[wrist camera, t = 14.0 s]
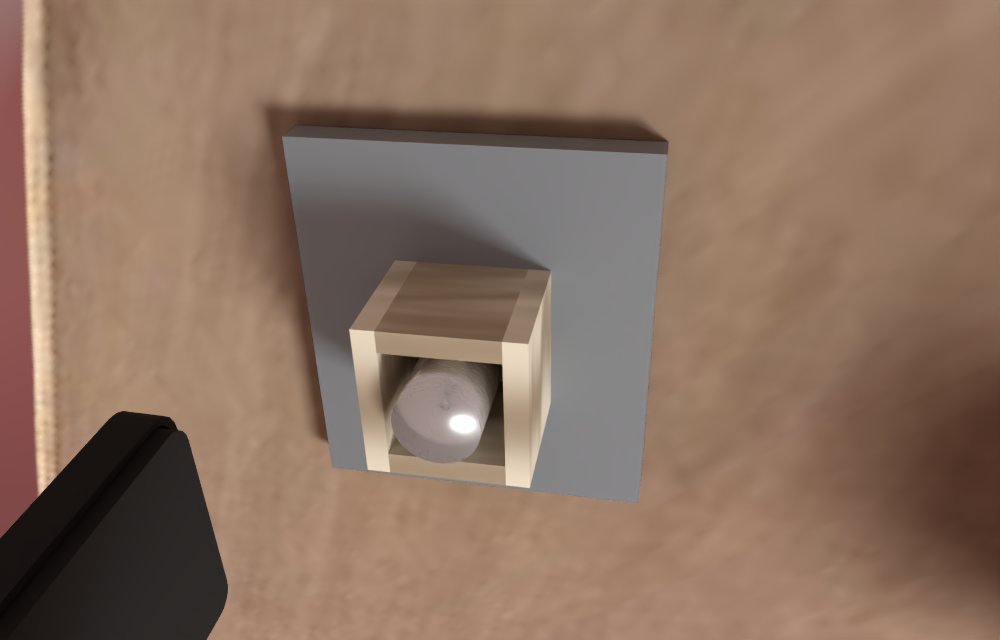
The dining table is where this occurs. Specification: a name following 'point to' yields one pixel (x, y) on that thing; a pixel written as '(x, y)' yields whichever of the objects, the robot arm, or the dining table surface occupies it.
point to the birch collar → (464, 337)
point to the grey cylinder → (445, 408)
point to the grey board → (494, 243)
